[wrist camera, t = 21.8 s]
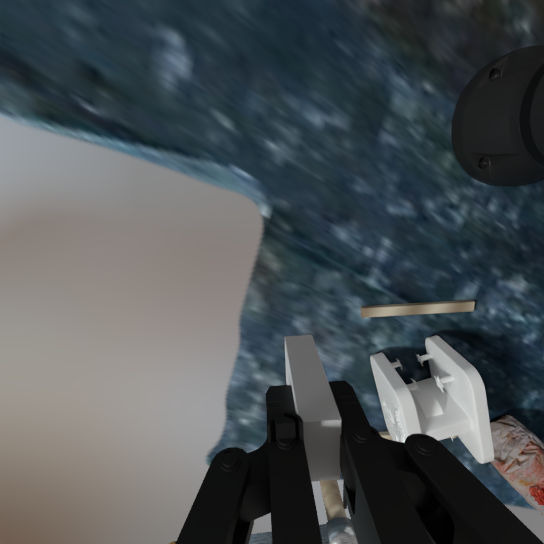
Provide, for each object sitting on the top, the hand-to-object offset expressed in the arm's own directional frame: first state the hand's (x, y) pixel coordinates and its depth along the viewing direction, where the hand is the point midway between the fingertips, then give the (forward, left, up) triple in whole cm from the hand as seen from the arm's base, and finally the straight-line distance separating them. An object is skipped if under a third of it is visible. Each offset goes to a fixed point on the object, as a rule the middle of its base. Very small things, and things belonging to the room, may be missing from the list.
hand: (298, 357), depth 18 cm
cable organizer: (-20, +21, -27) cm, 39 cm away
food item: (-37, +34, -27) cm, 57 cm away
